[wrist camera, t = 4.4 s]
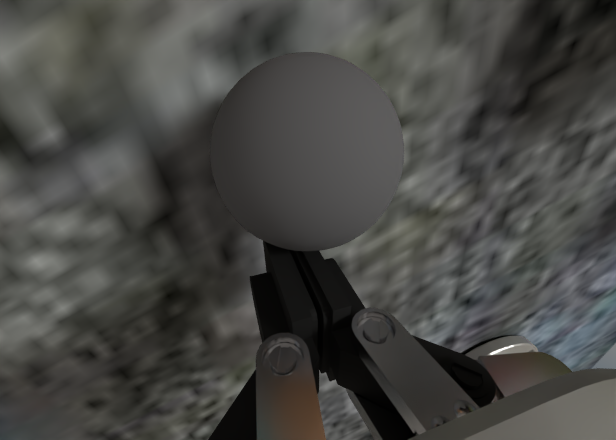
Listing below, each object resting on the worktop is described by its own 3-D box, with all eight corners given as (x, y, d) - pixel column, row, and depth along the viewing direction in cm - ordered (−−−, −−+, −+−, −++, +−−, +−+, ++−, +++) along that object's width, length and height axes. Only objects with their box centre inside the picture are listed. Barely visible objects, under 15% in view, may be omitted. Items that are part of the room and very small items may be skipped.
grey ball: (405, 242, 10) (492, 87, 6) (270, 320, 8) (266, 152, 4) (319, 160, 13) (338, 18, 9) (201, 199, 11) (157, 32, 7)
